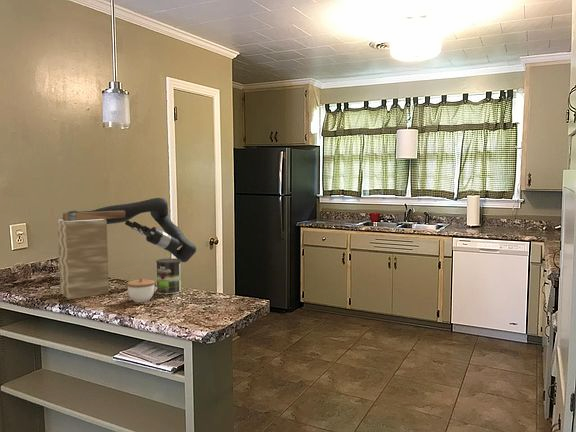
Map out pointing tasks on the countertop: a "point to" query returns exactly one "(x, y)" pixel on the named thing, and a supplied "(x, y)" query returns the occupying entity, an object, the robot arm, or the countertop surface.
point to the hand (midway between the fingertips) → (129, 222)
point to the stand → (83, 257)
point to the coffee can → (168, 276)
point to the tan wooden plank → (93, 215)
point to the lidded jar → (141, 290)
